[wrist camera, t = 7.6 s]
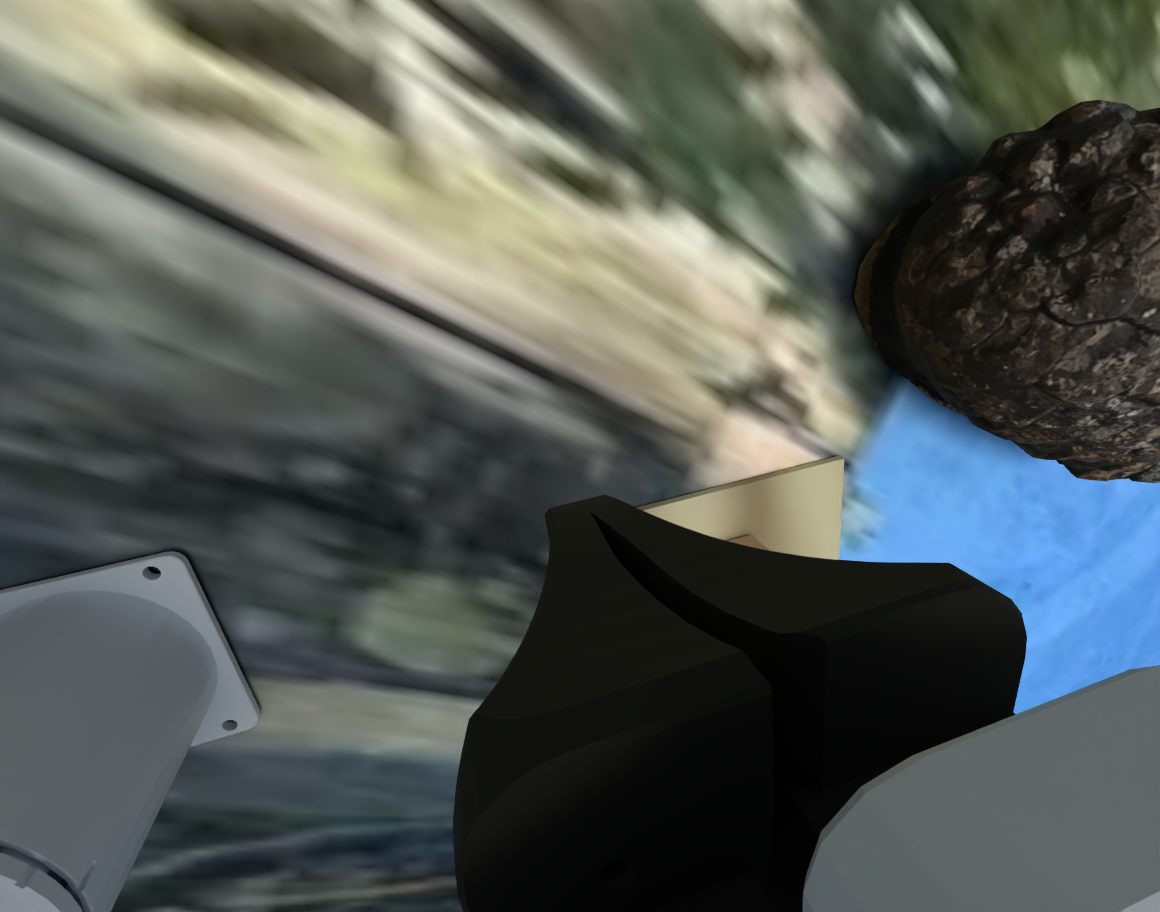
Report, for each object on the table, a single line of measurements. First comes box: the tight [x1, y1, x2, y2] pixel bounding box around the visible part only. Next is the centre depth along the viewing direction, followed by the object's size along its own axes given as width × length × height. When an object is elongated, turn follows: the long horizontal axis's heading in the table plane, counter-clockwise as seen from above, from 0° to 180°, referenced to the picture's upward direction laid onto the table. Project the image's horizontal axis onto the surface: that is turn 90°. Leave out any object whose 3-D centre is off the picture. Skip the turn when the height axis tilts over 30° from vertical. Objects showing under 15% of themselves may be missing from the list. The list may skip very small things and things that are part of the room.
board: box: [636, 456, 844, 560], centre depth 26 cm, size 11×14×1 cm
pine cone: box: [854, 100, 1160, 483], centre depth 20 cm, size 10×18×10 cm, turn 64°
